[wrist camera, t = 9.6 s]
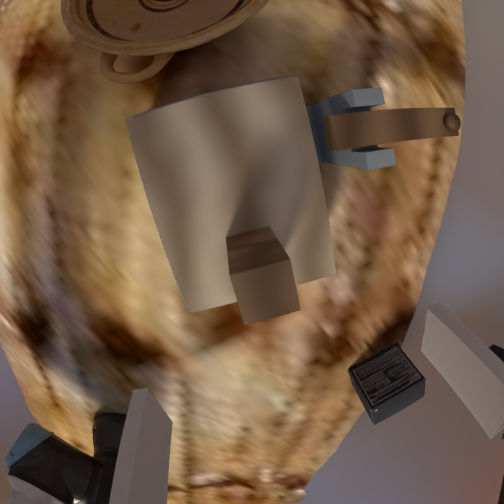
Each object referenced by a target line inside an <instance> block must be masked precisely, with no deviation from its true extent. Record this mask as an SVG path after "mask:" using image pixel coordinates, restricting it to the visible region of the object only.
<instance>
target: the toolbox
mask: <svg viewBox="0 0 504 504" xmlns="http://www.w3.org/2000/svg"><path fill="white" fill-rule="evenodd" d="M293 77H298V75H297V76H289V77H282V78H276V79H269V80H263V81H258V82H253V83H247V84H243V85H238V86H233V87H229V88H224V89H220V90H216V91H212V92H208V93H204V94H201V95H197V96H193V97H190V98H186V99H183V100H180V101H176V102H173V103H170V104H167V105H164V106H161V107H158V108H155V109H152V110H149V111H146V112H144V113H141V114H138V115H135V116H133V117H130V118H128V119H126V123H127V120H129V119H132V118H135V117H137V116H140V115H143V114H145V113H148V112H151V111H154V110H157V109H160V108H163V107H166V106H169V105H172V104H175V103H179V102H182V101H185V100H189V99H192V98H196V97H199V96H203V95H207V94H211V93H215V92H219V91H223V90H227V89H232V88H236V87H241V86H246V85H251V84H256V83H261V82H267V81H273V80H279V79H286V78H293ZM383 104H385V101H384V97H383V93H382V89H381V88H366V89H352V90H349V91H346V92H343V93H341V94H338V95H336V96H333V97H331V98H328V99H325V100H323V101H321V102H318V103H316V104H313V105H311V106H306V109H307V113H308V118H309V122H310V126H311V130H312V135H313V139H314V144H315V149H316V153H317V158H318V163H320V162H327V163H333V164H338V165H344V166H349V167H355V168H360V169H365V170H371V169H377V168H382V167H387V166H393V165H396V162H395V155H394V148H381V147H378V146H377V145H371V146H364V147H358V148H352V149H346V150H341V151H331V150H329V147H328V142H327V138H326V133H325V128H324V124H323V120H322V118H323V117H327V116H331V115H339V114H347V113H356V112H366V111H371V110H370V107H372V106H377V105H383ZM127 127H128V125H127ZM128 131H129V129H128ZM129 135H130V133H129ZM130 139H131V137H130ZM131 143H132V140H131ZM132 147H133V144H132ZM133 150H134V148H133ZM134 154H135V152H134ZM135 158H136V155H135ZM136 161H137V159H136ZM137 165H138V163H137ZM138 168H139V166H138ZM139 172H140V170H139ZM140 175H141V173H140ZM141 179H142V176H141ZM142 182H143V180H142ZM143 185H144V183H143ZM144 189H145V187H144ZM145 192H146V190H145ZM146 195H147V193H146ZM147 198H148V196H147ZM148 202H149V200H148ZM149 205H150V203H149ZM150 208H151V206H150ZM151 211H152V209H151ZM152 214H153V212H152ZM153 217H154V215H153ZM154 220H155V218H154ZM155 223H156V221H155ZM156 226H157V224H156ZM157 229H158V227H157ZM158 232H159V230H158ZM159 235H160V233H159ZM160 238H161V236H160ZM161 241H162V239H161ZM162 244H163V242H162ZM163 246H164V245H163ZM164 249H165V247H164ZM165 252H166V250H165ZM166 255H167V253H166ZM167 258H168V256H167ZM168 260H169V259H168ZM169 263H170V261H169ZM170 266H171V264H170ZM171 268H172V267H171ZM172 271H173V269H172ZM173 274H174V272H173ZM174 276H175V275H174ZM175 279H176V277H175ZM176 282H177V280H176ZM177 284H178V283H177ZM178 287H179V285H178ZM179 289H180V288H179ZM180 292H181V290H180ZM181 294H182V293H181ZM182 297H183V295H182ZM183 299H184V298H183ZM184 302H185V300H184ZM185 304H186V303H185ZM186 307H187V305H186ZM187 309H188V308H187ZM188 311H189V310H188Z"/></svg>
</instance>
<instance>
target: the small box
mask: <svg viewBox="0 0 504 504" xmlns="http://www.w3.org/2000/svg"><path fill="white" fill-rule="evenodd" d="M348 372H349V375H350V378H351V381H352V385H353V387H354V389H355V391H356V392H357V394H358V396H359V398H360V400H361V402H362V403H363V405H364V407H365V409H366V411H367V413H368V415H369V417H370V419H371V421H372V422H373V424H374V425H375V424H377V423H379V422H381V421H383V420H385V419H386V418H388V417H390V416H392V415H394V414H395V413H397V412H399V411H401V410H402V409H404V408H406V407H407V406H409V405H411V404H412V403H414V402H416V401H417V400H419V399H420V398H422V397H423V396H424V391H425V378H424V376H422V374H421V373H420V372H419V371H418V369H417V368H416V367H415V366H414V364H413V363H412V362H411V361H410V359H409V358H408V357H407V356H406V354H405V353H404V352H403V351H402V349H401V348H400V347H399V345H398V344H397V343H396V344H394V345H392V346H391V347H389V348H387V349H385V350H384V351H382V352H380V353H378V354H376V355H375V356H373V357H371V358H369V359H367V360H365V361H363V362H361V363H359V364H357V365H355V366H353V367H351V368H349V369H348Z"/></svg>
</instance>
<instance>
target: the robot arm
mask: <svg viewBox="0 0 504 504" xmlns="http://www.w3.org/2000/svg"><path fill="white" fill-rule="evenodd" d="M421 351H422V352H423V353H424V355H425V356H426V357H427V358H428V359H429V360H430V362H431V363H432V364H433V365H434V366H435V368H436V369H437V370H438V371H439V372H440V374H441V375H442V376H443V377H444V379H445V380H446V381H447V382H448V383H449V385H450V386H451V387H452V388H453V390H454V391H455V392H456V394H457V395H458V396H459V397H460V399H461V400H462V401H463V402H464V403H465V405H466V406H467V408H468V409H469V410H470V412H471V413H472V414H473V416H474V417H475V418H476V420H477V421H478V422H479V424H480V425H481V426H482V428H483V429H484V430H485V432H486V433H487V434H488V436H489V437H490V439H492V438H493V437H494V436H495V435H496V434H498V433H499V432H500V431H501V430H502V429H503V428H504V349H502V348H500V347H498V346H496V345H492V346H491V347H489V348H488V347H487V346H486V345H485V344H484V343H483V342H482V341H481V340H480V339H479V338H478V337H477V336H476V335H474V334H473V333H472V332H471V331H470V330H469V329H468V328H467V327H466V326H465V325H463V324H462V323H461V322H460V321H459V320H458V319H457V318H456V317H455V316H453V315H452V314H451V313H450V312H449V311H448V310H446V309H445V308H444V307H443V306H442V305H441V304H439V303H438V304H436V305H434V306H431V307H429V308H427V315H426V323H425V330H424V336H423V343H422V349H421ZM172 423H173V422H172V421H171V420H170V418H169V417H168V416H167V414H166V413H165V412H164V410H163V409H162V407H161V406H160V405H159V403H158V402H157V401H156V399H155V398H154V396H153V395H152V393H151V392H150V390H149V389H148V388H142V389H134V390H133V392H132V396H131V400H130V404H129V408H128V412H127V415H122V414H116V413H106V414H101V415H99V416H97V417H96V419H95V421H94V424H93V428H92V433H93V444H94V455H93V457H92V456H90V455H88V454H86V453H84V452H82V451H81V450H79V449H77V448H76V447H74V446H72V445H71V444H69V443H67V442H66V441H64V440H62V439H61V438H59V437H58V436H56V435H55V434H54V433H53V432H50V431H48V430H46V429H45V428H43V427H42V426H40V425H39V424H36V423H29V424H28V425H27V426H26V427H25V429H24V430H23V432H22V433H21V435H20V436H19V438H18V439H17V441H16V442H15V444H14V445H13V447H12V449H11V450H10V452H9V453H8V455H7V456H6V458H5V460H4V465H5V466H6V467H7V468H8V469H10V470H9V473H8V476H7V477H8V480H9V482H10V484H11V486H12V493H11V496H10V500H9V503H8V504H167V488H168V472H169V457H170V445H171V433H172ZM502 439H504V434H503V437H502ZM498 504H504V476H503V482H502V487H501V492H500V496H499V500H498Z"/></svg>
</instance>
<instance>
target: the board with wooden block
mask: <svg viewBox="0 0 504 504" xmlns="http://www.w3.org/2000/svg"><path fill="white" fill-rule="evenodd" d="M127 125H128V129H129V133H130V137H131V140H132V144H133V148H134V152H135V155H136V159H137V163H138V166H139V170H140V173H141V176H142V180H143V183H144V187H145V190H146V193H147V196H148V200H149V203H150V206H151V209H152V212H153V215H154V218H155V221H156V224H157V227H158V230H159V233H160V236H161V239H162V242H163V245H164V247H165V250H166V253H167V256H168V259H169V261H170V264H171V267H172V269H173V272H174V275H175V277H176V280H177V283H178V285H179V288H180V290H181V293H182V295H183V298H184V300H185V303H186V305H187V308H188V310H189V313H194V312H198V311H202V310H206V309H210V308H214V307H218V306H222V305H226V304H230V303H234V302H238V305H239V308H240V311H241V314H242V318H243V321H244V324H245V325H248V324H252V323H256V322H260V321H263V320H267V319H271V318H274V317H278V316H282V315H285V314H289V313H292V312H295V311H299V310H300V305H299V300H298V295H297V289H296V285H299V284H303V283H306V282H310V281H313V280H316V279H320V278H323V277H327V276H330V275H333V274H336V268H335V260H334V253H333V245H332V238H331V231H330V225H329V219H328V212H327V206H326V200H325V195H324V189H323V184H322V178H321V173H320V168H319V163H318V158H317V153H316V149H315V144H314V139H313V135H312V130H311V126H310V122H309V118H308V113H307V109H306V105H305V101H304V97H303V93H302V90H301V86H300V82H299V78H298V77H293V78H286V79H279V80H273V81H267V82H261V83H256V84H251V85H246V86H241V87H236V88H232V89H227V90H223V91H219V92H215V93H211V94H207V95H203V96H199V97H196V98H192V99H189V100H185V101H182V102H179V103H175V104H172V105H169V106H166V107H163V108H160V109H157V110H154V111H151V112H148V113H145V114H143V115H140V116H137V117H135V118H132V119H129V120H127Z"/></svg>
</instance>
